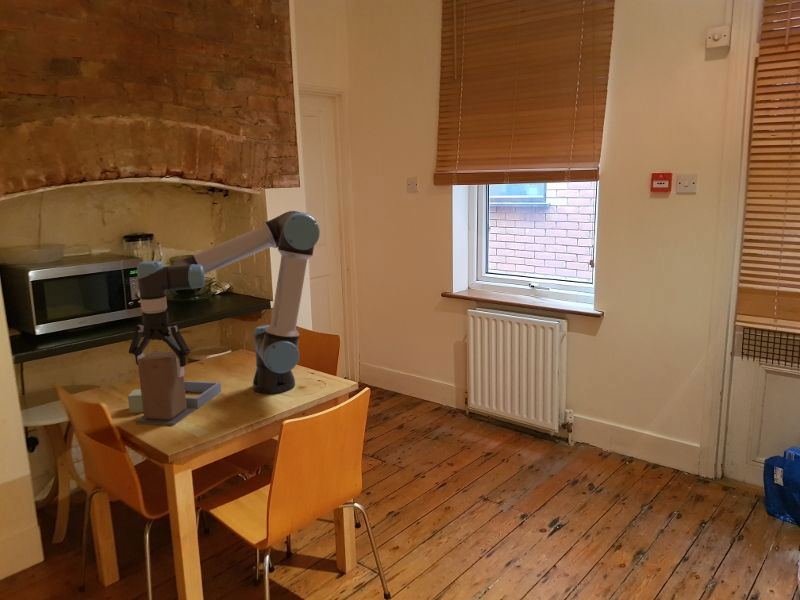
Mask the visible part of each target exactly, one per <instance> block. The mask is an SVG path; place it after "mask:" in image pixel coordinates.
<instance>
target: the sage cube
mask: <svg viewBox="0 0 800 600" xmlns="http://www.w3.org/2000/svg"><path fill="white" fill-rule="evenodd" d="M127 401H128V411H129V413H130V414H133V413H143V405H142V396H141V388H139V389H138V388H137V389H133V390H132V391H131V392H130V393H129V394H128V395H127Z"/></svg>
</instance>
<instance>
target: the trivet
mask: <svg viewBox="0 0 800 600" xmlns="http://www.w3.org/2000/svg"><path fill="white" fill-rule="evenodd" d="M195 409H196V408H188V407H186V410H184V411H183V412H182V413H180V414H179V415H177V416H176V417H175V418H173V419H171V420H162V419H146V418H144V415H143V416H141V417H140V418H138V419H136V420H135V424H138V425H139V424H141V425H142V424H144V425H152V426H153V425H154V426H155V425H156V426H170V427H173V426H176V424H178V423H179V422H181V421H182V420H183V419H184V418H186V417H188V416H189V415H190V414H192V413H193V412H194V411H196V410H195Z"/></svg>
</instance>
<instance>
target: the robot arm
mask: <svg viewBox="0 0 800 600" xmlns="http://www.w3.org/2000/svg"><path fill="white" fill-rule="evenodd" d="M320 231H321V230H320V226H319V224H318V222H317V220H315V218H314V217H313V216H312V215H310V214H308V213H305V212H303V211H302V212H300V211H296V210H289V211H286V212H284V213H282V214H280V215H278V216H276V217H274V218H272V219H269V220H268V221H265V222H263V223H262V226H261V227H258V228H255V229H253V230H251V231H248V232H246V233H244V234H241V235H238V236H236V237H234V238H231V239H229V240H227V241H224V242H222V243H219V244H216V245H214V246H211V247H209V248H207V249H204V250H202V251H200V252H198V253H195V254H192V255H190V256H188V257H185V258H179V259H176V260H175V261H173V263H172V264H171V266H164V265H163V262H162V260H146V261H140V262H139V263H138V264H137V265H136V274H137V283H138V284H137V285H138V291H139V292H138V293H139V298H140V299H139V301H140V309H141V312H142V313H141V316H142V323H140V324H138V325H136V326H135V327H134V334H133V337H132V341H131V343H130V347H129V349H128V353H129V354H132V355H134V357H135V358H134V359H135V364H136V365H137V366H138V360H139V359H140V358H142V357H144V356H146V355H145V353H144V350H145V349H146V347H147V346H148V344H149V343H150V341H155V340H156V341H163V342H164V343H166V345H168V347H170V349H171V350H172V352H175V353H176V354H177V356H178V357H176V363H177V372H178V377H182V376H185V366H186V363H187V362H186V356H187V355H190V354H191V349H190V347H188V345H187V343H186V340H185V339H184V337H183V335H182V333H181V332H180V329H179V325H177V324H175V325H173V326H171V325H169V311H168V310H167V309H168V303H167V302H168V301H167V293H166V292H167V291H177V290H190V289H191V290H195V289H199V288H200V289H201V288H203V287H205V282H206V281H205V279H206V278H205V275H207V274H210V273H211V272H214V271H217V270H219V269H221V268H222V269H223V268H224V267H227V266H228V265H229V266H230V265H231V264H234V263H236V262H238V261H240V260H241V261H242V260H243V259H245V258H248V257H250V256H253V255H254V254H257V253H260V252H261V251H265V250H267V249H269V248H273V249H277V251H278V252H279V254H280V255H281V258H280V262H279V268H278V269H279V270H278V275H277V282H276V288H275V295H274V301H273V302H274V303H273V307H272V314H271V320H270V324H266V325H265V324H264V325H261V326H257V327H255V328H254V330H253V331H254V332H253V337H254V347H255V362H256V363H255V364H256V369H255V373H254V377H253V381H252V390H253V391H255V392H258V393H261V394H279V393H284V392H287V391H290V390H292V389H294V387H295V386H296V379H295V376H294V373H293V372H292V370H293V369H295V368H296V366H297V365H298V363H299V361H300V350H299V348H298V345H299V340H300V333H299V331H298V329H297V325H298V324H297V323H298V318H299V311H300V306H301V301H302V300H301V299H302V294H303V293H302V292H303V288H304V283H305V282H304V281H305V276H306V271H307V270H306V268H307V263H308V260H309V259H310V258H312V257H313V254H314V249H315V245H317V243H318V241H319V239H320V235H321V234H320V233H321V232H320ZM143 332H144V333H145V335H144V337H143V339H142V336H143ZM141 339H142V340H141Z"/></svg>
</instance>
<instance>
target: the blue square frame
mask: <svg viewBox="0 0 800 600" xmlns="http://www.w3.org/2000/svg"><path fill="white" fill-rule="evenodd" d="M184 387H185V392H196V393H197V392H198V393H201V394H199V395H197V396H196V397H191V396H185V397H186V407H188V408H194V409H200V408H201V407H203V406H204V405H205V404H207V403H208V402H209V401H211V400H212V399H213V398H215V397H216V396H218V395H219V394H220V393H222V386H221V382H217V381H216V382H213V381H196V380H195V381H194V380H184Z"/></svg>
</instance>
